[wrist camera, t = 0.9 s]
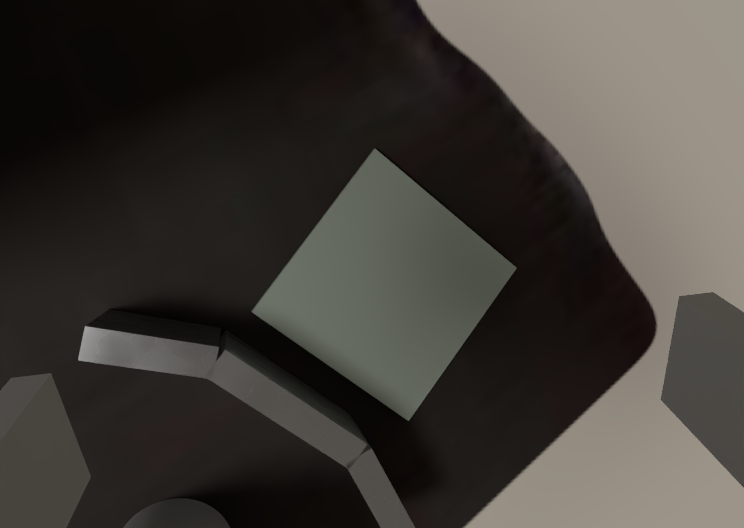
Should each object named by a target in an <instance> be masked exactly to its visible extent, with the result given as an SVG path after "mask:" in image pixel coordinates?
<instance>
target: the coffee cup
mask: <svg viewBox="0 0 744 528" xmlns="http://www.w3.org/2000/svg"><path fill="white" fill-rule="evenodd" d="M123 528H230V526H229V525H228V523H227V521H226V520H225V519H224V517H223V516H222V515H221V514H220V513H219V512H218V511H217V510H215V509H214V508H212V507H211V506H209V505H207V504H205V503H203V502H200V501H197V500H193V499H186V498H175V499H168V500H163V501H160V502H157V503H154V504H152V505H150V506H148V507H146V508H144V509H143V510H141V511H140V512H138V513H137V514H136V515H134V516H133V517H132V518H131V519H130V520H129V521H128V522H127V524H126V525H125V526H124V527H123Z"/></svg>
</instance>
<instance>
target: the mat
mask: <svg viewBox="0 0 744 528" xmlns="http://www.w3.org/2000/svg"><path fill="white" fill-rule="evenodd" d="M515 270H516V267H515V266H514V265H513V264H512V263H510V262H509V261H508V260H507V259H506V258H504V257H503V256H502V255H501V254H500V253H498V252H497V251H496V250H495V249H494V248H493V247H491V246H490V245H489V244H488V243H487V242H485V241H484V240H483V239H482V238H481V237H479V236H478V235H477V234H476V233H475V232H474V231H472V230H471V229H470V228H469V227H468V226H466V225H465V224H464V223H463V222H462V221H461V220H459V219H458V218H457V217H456V216H455V215H453V214H452V213H451V212H450V211H449V210H447V209H446V208H445V207H444V206H443V205H442V204H440V203H439V202H438V201H437V200H436V199H434V198H433V197H432V196H431V195H430V194H428V193H427V192H426V191H425V190H424V189H423V188H421V187H420V186H419V185H418V184H417V183H415V182H414V181H413V180H412V179H411V178H409V177H408V176H407V175H406V174H405V173H404V172H402V171H401V170H400V169H399V168H398V167H396V166H395V165H394V164H393V163H392V162H391V161H389V160H388V159H387V158H386V157H385V156H383V155H382V154H381V153H380V152H379V151H377V150H376V149H373V151H372V152H371V153H370V155H369V156H368V157H367V159H366V160H365V161H364V163H363V164H362V165H361V166H360V168H359V169H358V170H357V172H356V173H355V174H354V176H353V177H352V178H351V180H350V181H349V182H348V184H347V185H346V186H345V188H344V189H343V190H342V192H341V193H340V194H339V196H338V197H337V198H336V200H335V201H334V202H333V204H332V205H331V206H330V208H329V209H328V210H327V212H326V213H325V214H324V216H323V217H322V218H321V220H320V221H319V222H318V223H317V225H316V226H315V227H314V229H313V230H312V231H311V233H310V234H309V235H308V237H307V238H306V239H305V241H304V242H303V243H302V245H301V246H300V247H299V249H298V250H297V251H296V253H295V254H294V255H293V257H292V258H291V259H290V261H289V262H288V263H287V265H286V266H285V267H284V269H283V270H282V271H281V273H280V274H279V275H278V276H277V278H276V279H275V280H274V282H273V283H272V284H271V286H270V287H269V288H268V290H267V291H266V292H265V294H264V295H263V296H262V298H261V299H260V300H259V302H258V303H257V304H256V306H255V307H254V308H253V310H252V313H254V314H255V315H257V316H258V317H259V318H261V319H262V320H264V321H265V322H267V323H268V324H270V325H271V326H272V327H274V328H275V329H277V330H278V331H280V332H281V333H283V334H284V335H285V336H287V337H288V338H290V339H291V340H293V341H294V342H295V343H297V344H298V345H300V346H301V347H303V348H304V349H306V350H307V351H308V352H310V353H311V354H313V355H314V356H316V357H317V358H318V359H320V360H321V361H323V362H324V363H326V364H327V365H329V366H330V367H331V368H333V369H334V370H336V371H337V372H339V373H340V374H341V375H343V376H344V377H346V378H347V379H349V380H350V381H352V382H353V383H354V384H356V385H357V386H359V387H360V388H362V389H363V390H364V391H366V392H367V393H369V394H370V395H372V396H373V397H375V398H376V399H377V400H379V401H380V402H382V403H383V404H385V405H386V406H388V407H389V408H390V409H392V410H393V411H395V412H396V413H398V414H399V415H400V416H402V417H403V418H405V419H406V420H408V421H409V420H410V419H411V417H412V416H413V414H414V413H415V411H416V410H417V409H418V407H419V406H420V404H421V403H422V402H423V400H424V399H425V397H426V396H427V394H428V393H429V392H430V390H431V389H432V387H433V386H434V385H435V383H436V382H437V380H438V379H439V377H440V376H441V375H442V373H443V372H444V370H445V369H446V367H447V366H448V365H449V363H450V362H451V360H452V359H453V358H454V356H455V355H456V353H457V352H458V350H459V349H460V348H461V346H462V345H463V343H464V342H465V341H466V339H467V338H468V336H469V335H470V333H471V332H472V331H473V329H474V328H475V326H476V325H477V324H478V322H479V321H480V319H481V318H482V316H483V315H484V314H485V312H486V311H487V309H488V308H489V307H490V305H491V304H492V302H493V301H494V299H495V298H496V297H497V295H498V294H499V292H500V291H501V290H502V288H503V287H504V285H505V284H506V282H507V281H508V280H509V278H510V277H511V275H512V274H513V273H514V271H515Z"/></svg>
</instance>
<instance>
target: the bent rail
mask: <svg viewBox="0 0 744 528" xmlns="http://www.w3.org/2000/svg"><path fill="white" fill-rule="evenodd" d="M220 333H221V328H220V327H214V326H208V325H202V324H196V323H190V322H184V321H178V320H172V319H166V318H160V317H154V316H148V315H142V314H136V313H129V312H123V311H117V310H111V309H109V310H107V311H106V312H104V313H103V314H102V315H100V316H99V317H97V318H96V319H94V320H93V321H92V322H90V323H89V324H87V325H86V326H85V329H84V334H83V339H82V344H81V348H80V353H79V358H78V360H79V361H86V362H93V363H101V364H108V365H115V366H122V367H129V368H136V369H143V370H151V371H158V372H165V373H172V374H179V375H186V376H194V377H201V378H208V379H209V380H211V381H212V382H214V383H215V384H217V385H219V386H220V387H222V388H223V389H225V390H226V391H228V392H229V393H231V394H233V395H234V396H236V397H237V398H239V399H240V400H242V401H243V402H245V403H247V404H248V405H250V406H251V407H253V408H254V409H256V410H257V411H259V412H261V413H262V414H264V415H265V416H267V417H268V418H270V419H271V420H273V421H275V422H276V423H278V424H279V425H281V426H282V427H284V428H285V429H287V430H289V431H290V432H292V433H293V434H295V435H296V436H298V437H299V438H301V439H303V440H304V441H306V442H307V443H309V444H310V445H312V446H313V447H315V448H317V449H318V450H320V451H321V452H323V453H324V454H326V455H327V456H329V457H331V458H332V459H334V460H335V461H337V462H338V463H340V464H341V465H343V466H345V467H346V468H347V469H348V470H349V472H350V474H351V476H352V478H353V479H354V481H355V483H356V485H357V486H358V488H359V490H360V492H361V494H362V495H363V497H364V499H365V501H366V502H367V504H368V506H369V508H370V510H371V511H372V513H373V515H374V517H375V518H376V520H377V522H378V524H379V526H380V527H381V528H415V527H414V525H413V523H412V521H411V519H410V518H409V516H408V514H407V512H406V510H405V508H404V507H403V505H402V503H401V501H400V499H399V497H398V496H397V494H396V492H395V490H394V488H393V486H392V485H391V483H390V481H389V479H388V477H387V476H386V474H385V472H384V470H383V468H382V466H381V465H380V463H379V461H378V459H377V457H376V455H375V454H374V452H373V450H372V448H371V447H370V445H369V443H368V442H367V440H366V438H365V437H364V435H363V434H362V432H361V430H360V429H359V427H358V426H357V424H356V422H355V421H354V419H353V417H352V416H350V415H349V413H348V412H347V411H346V410H344V409H343V408H341V407H340V406H338V405H337V404H335V403H334V402H332V401H331V400H329V399H328V398H326V397H325V396H323V395H322V394H320V393H319V392H317V391H316V390H314V389H313V388H311V387H310V386H309V385H307V384H306V383H304V382H303V381H301V380H300V379H298V378H297V377H295V376H294V375H292V374H291V373H289V372H288V371H286V370H285V369H283V368H282V367H280V366H279V365H277V364H276V363H274V362H273V361H272V360H270V359H269V358H267V357H266V356H264V355H263V354H261V353H260V352H258V351H257V350H255V349H254V348H252V347H251V346H249V345H248V344H246V343H245V342H243V341H242V340H240V339H239V338H237V337H236V336H235V335H233V334H232V333H230V332H229V331H227V330H226V331H225V332H224V334H223V335H222V336H221V338H220Z"/></svg>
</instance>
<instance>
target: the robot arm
mask: <svg viewBox="0 0 744 528" xmlns="http://www.w3.org/2000/svg"><path fill="white" fill-rule="evenodd" d="M661 400H662V401H663V402H664V403H665V404H666V405H667V407H668V408H669V409H670V410H671V411H672V412H673V413H674V414H675V415H676V416H677V417H678V418H679V419H680V420H681V422H683V424H684V425H685V426H686V427H687V428H688V429H689V430H690V431H691V432H692V433H693V434H694V435H695V436H696V437H697V438H698V440H700V442H701V443H702V444H703V445H704V446H705V447H706V448H707V449H708V450H709V451H710V452H711V453H712V454H713V455H714V457H715V458H716V459H717V460H718V461H719V462H720V463H721V464H722V465H723V466H724V467H725V468H726V469H727V470H728V471H729V472H730V473H731V474H732V476H733V477H734V478H735V479H736V480H737V481H738V482H739V483H740V484H741V485H742V486H743V487H744V313H743V312H742V311H740V310H739V309H738V308H736V307H735V306H733V305H731V304H730V303H728V302H727V301H725V300H724V299H722V298H721V297H719V296H718V295H716V294H715V293H703V294H695V295H687V296H680V297H679V301H678V307H677V312H676V318H675V324H674V329H673V335H672V340H671V346H670V351H669V358H668V363H667V369H666V374H665V380H664V385H663V391H662V396H661ZM90 478H91V476H90V473H89V471H88V468H87V466H86V463H85V460H84V458H83V455H82V453H81V450H80V447H79V445H78V442H77V440H76V437H75V434H74V432H73V429H72V427H71V424H70V422H69V419H68V416H67V414H66V411H65V409H64V406H63V403H62V401H61V398H60V396H59V393H58V390H57V388H56V385H55V383H54V380H53V378H52V375H51V373H49V374H41V375H33V376H25V377H17V378H11V379H10V380H9V381H8V382H7V384H6V385H5V386H4V387H3V388H2V389H1V391H0V528H66V527H67V525H68V523H69V521H70V519H71V517H72V515H73V513H74V511H75V509H76V507H77V504H78V502H79V500H80V498H81V496H82V494H83V492H84V490H85V488H86V486H87V484H88V482H89V480H90Z"/></svg>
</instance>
